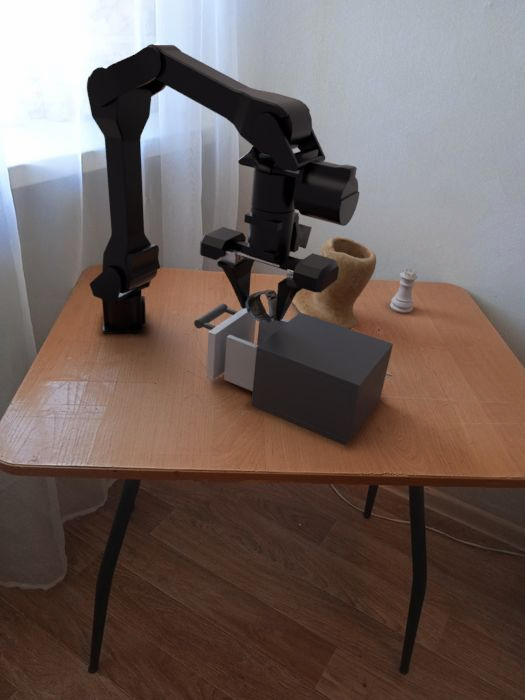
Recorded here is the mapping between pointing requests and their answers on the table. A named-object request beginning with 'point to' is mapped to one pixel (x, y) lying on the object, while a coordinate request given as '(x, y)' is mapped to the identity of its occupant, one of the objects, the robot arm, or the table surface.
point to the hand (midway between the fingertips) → (262, 313)
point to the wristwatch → (257, 308)
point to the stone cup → (340, 283)
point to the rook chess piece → (404, 292)
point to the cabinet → (320, 376)
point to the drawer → (234, 344)
